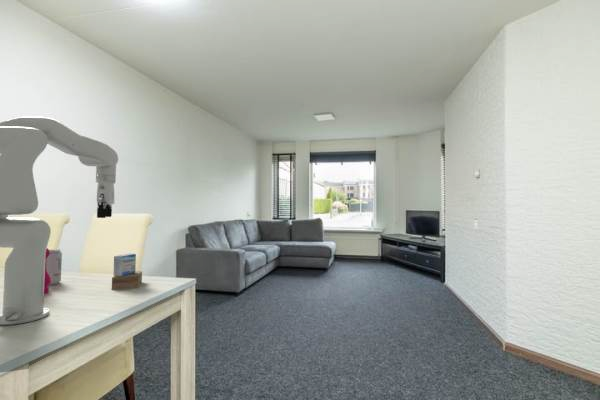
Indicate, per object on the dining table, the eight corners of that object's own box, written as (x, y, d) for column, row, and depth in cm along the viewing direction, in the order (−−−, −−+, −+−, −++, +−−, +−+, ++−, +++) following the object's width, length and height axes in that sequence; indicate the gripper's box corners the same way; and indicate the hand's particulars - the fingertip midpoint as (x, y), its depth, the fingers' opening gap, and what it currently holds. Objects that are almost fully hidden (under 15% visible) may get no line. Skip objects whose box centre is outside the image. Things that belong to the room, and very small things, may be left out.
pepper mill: (49, 289, 125) (51, 241, 126) (51, 293, 120) (53, 243, 121) (26, 292, 120) (28, 242, 121) (26, 296, 115) (29, 244, 116)
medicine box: (121, 276, 129) (122, 256, 129) (113, 275, 130) (113, 255, 130) (135, 272, 136) (136, 253, 137) (127, 272, 138) (128, 253, 138)
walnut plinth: (138, 287, 131) (138, 276, 131) (111, 289, 127) (112, 277, 127) (141, 282, 140) (142, 271, 140) (117, 283, 137) (117, 272, 137)
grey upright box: (57, 284, 132) (59, 250, 133) (40, 285, 130) (42, 251, 131) (62, 281, 138) (64, 249, 138) (46, 282, 136) (48, 249, 136)
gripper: (110, 178, 129) (108, 218, 128) (119, 181, 145) (118, 216, 145) (89, 177, 126) (88, 218, 126) (101, 180, 142) (100, 216, 142)
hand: (104, 217), depth 135 cm, fingers open, 9 cm apart
